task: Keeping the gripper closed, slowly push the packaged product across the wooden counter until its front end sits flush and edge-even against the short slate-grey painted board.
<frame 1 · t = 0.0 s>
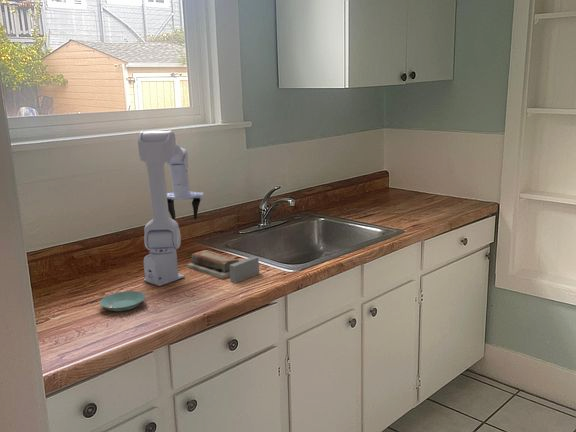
hand: (184, 218, 204), 11 cm above the counter, tool pointing down, fingers open, 7 cm apart
board: (245, 277, 174), on the counter
saucer: (123, 307, 156), on the counter
packaged product: (216, 270, 183), on the counter
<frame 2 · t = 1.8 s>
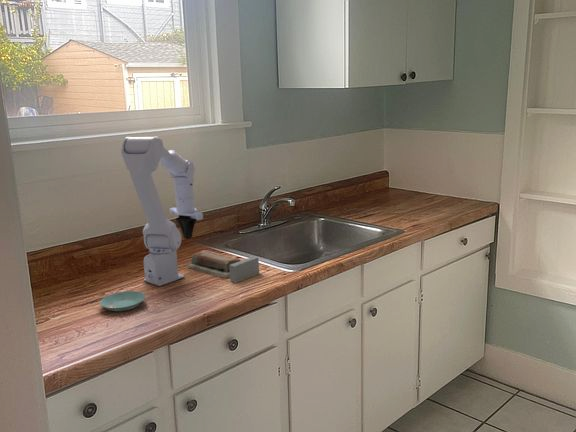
hand: (188, 238, 189), 8 cm above the counter, tool pointing down, fingers closed
nothing on the counter moved.
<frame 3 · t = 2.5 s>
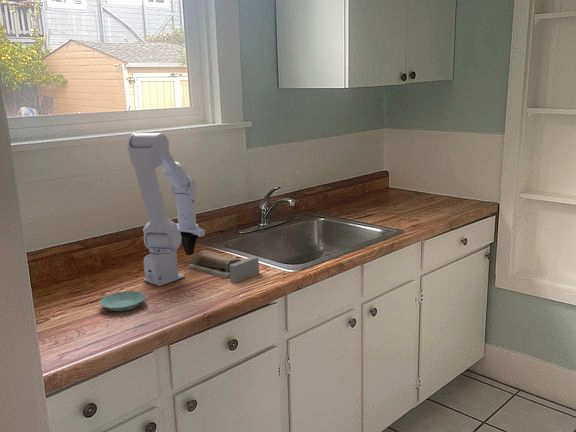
hand: (189, 254, 190), 2 cm above the counter, tool pointing down, fingers closed
nothing on the counter moved.
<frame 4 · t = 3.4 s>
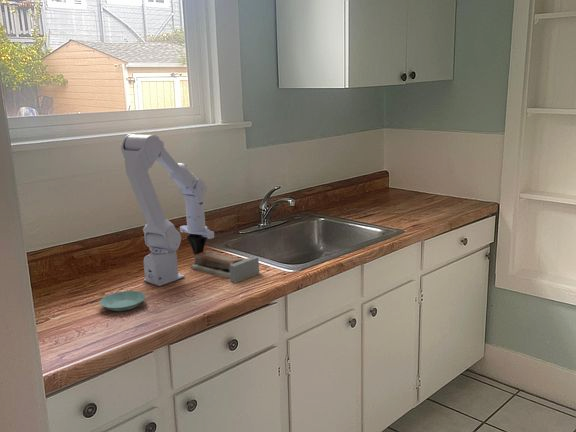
hand: (198, 256, 187), 2 cm above the counter, tool pointing down, fingers closed
packaged product: (221, 270, 182), on the counter
everything else where it was.
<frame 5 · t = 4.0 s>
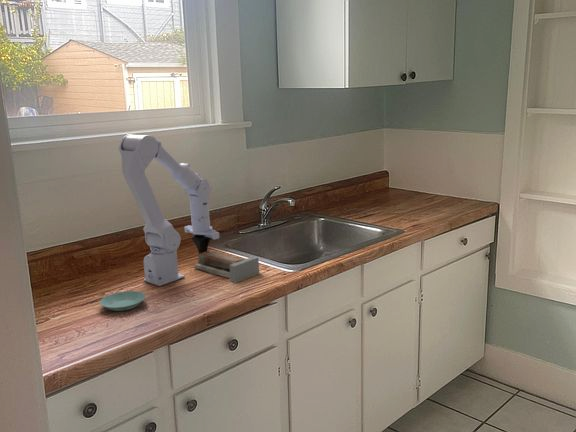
hand: (203, 257, 186), 3 cm above the counter, tool pointing down, fingers closed, pressing on packaged product
packaged product: (224, 270, 181), on the counter, touching board, gripper
everything else where it was.
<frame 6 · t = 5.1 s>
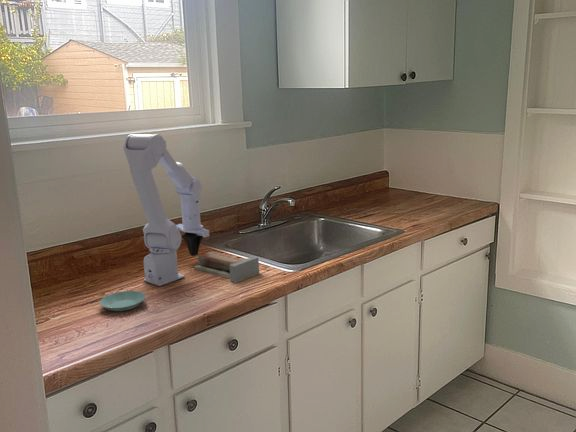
hand: (194, 255, 189), 3 cm above the counter, tool pointing down, fingers closed
packaged product: (224, 271, 181), on the counter
everything else where it was.
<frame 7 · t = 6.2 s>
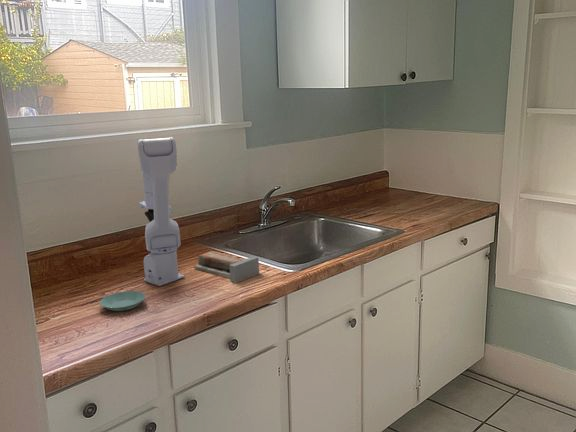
hand: (157, 232, 188), 10 cm above the counter, tool pointing down, fingers closed
nothing on the counter moved.
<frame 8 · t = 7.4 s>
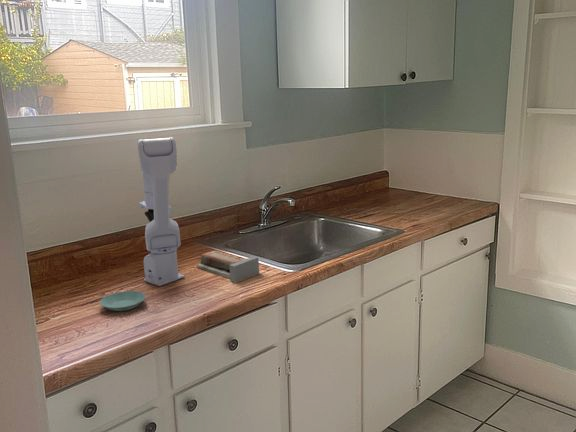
hand: (157, 232, 188), 10 cm above the counter, tool pointing down, fingers closed
at the end: packaged product 1.5 cm from the target spot on the counter beside the board, on the counter; packaged product tilted 0° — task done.
